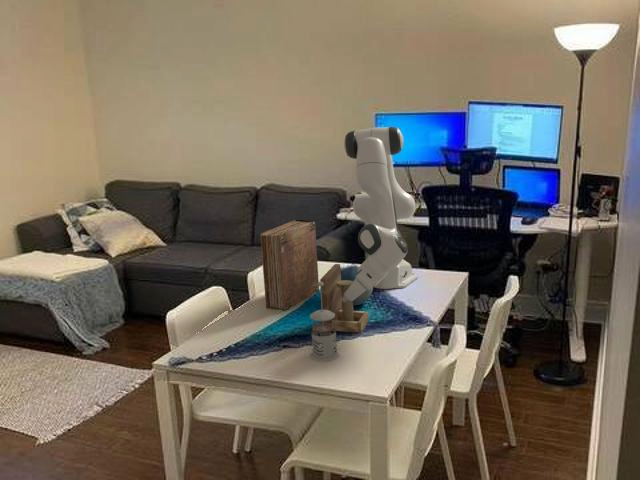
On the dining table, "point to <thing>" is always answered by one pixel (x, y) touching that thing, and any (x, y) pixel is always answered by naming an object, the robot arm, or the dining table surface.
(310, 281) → the book
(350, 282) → the handle
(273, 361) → the dining table surface
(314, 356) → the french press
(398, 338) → the dining table surface
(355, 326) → the cleat board
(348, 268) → the decorative ball
